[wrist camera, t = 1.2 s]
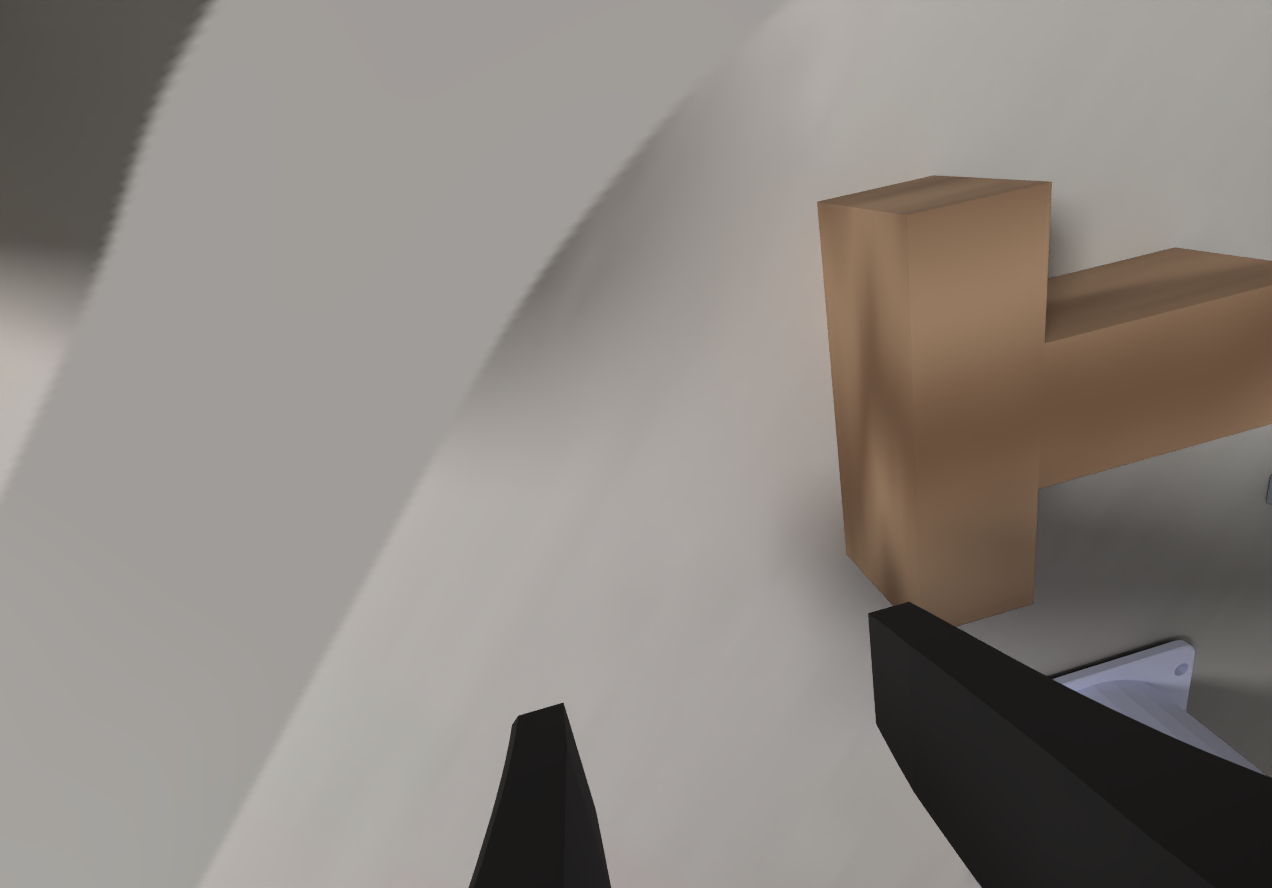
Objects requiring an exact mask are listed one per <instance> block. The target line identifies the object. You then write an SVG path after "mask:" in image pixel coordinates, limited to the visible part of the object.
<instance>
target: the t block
mask: <svg viewBox="0 0 1272 888" xmlns="http://www.w3.org/2000/svg"><path fill="white" fill-rule="evenodd" d="M1051 187H1052V182H1045V181H1026V180H1008V179H989V178H970V177H951V176H929V177H925V178H920V179H916V180H912V181H907V182H903V183H898V184H894V185H890V186H885V187H881V188H876V189H872V190H867V191H863V192H859V193H854V194H850V195H845V196H841V197H836V198H832V199H828V200H823V201H819V202H817V205H818V217H819V229H820V241H821V253H822V265H823V277H824V289H825V301H826V313H827V326H828V338H829V350H830V362H831V374H832V386H833V398H834V410H835V422H836V434H837V446H838V458H839V470H840V482H841V494H842V506H843V518H844V530H845V542H846V554H847V555H848V556H849V557H850V559H851V560H852V561H853V562H854V563H855V564H856V565H857V566H858V567H859V569H860V570H861V571H862V572H863V573H864V574H865V575H866V576H867V577H868V579H869V580H870V581H871V582H872V583H873V584H874V585H875V586H876V587H877V588H878V590H879V591H880V592H881V593H882V594H883V595H884V596H885V597H886V598H887V600H888V601H889V602H890V603H891V604H892V605H893V606H896V605H899V604H902V603H906V602H911V603H913V604H915V605H917V606H918V607H920V608H922V609H924V610H926V611H928V612H930V613H931V614H933V615H935V616H937V617H939V618H941V619H942V620H944V621H946V622H948V623H950V624H951V625H953V626H955V627H957V626H960V625H963V624H967V623H970V622H973V621H977V620H980V619H983V618H987V617H990V616H993V615H997V614H1000V613H1004V612H1007V611H1010V610H1014V609H1017V608H1020V607H1024V606H1027V605H1030V604H1033V598H1034V575H1035V553H1036V530H1037V507H1038V489H1040V488H1044V487H1047V486H1051V485H1055V484H1058V483H1062V482H1065V481H1069V480H1072V479H1076V478H1080V477H1083V476H1087V475H1090V474H1094V473H1097V472H1101V471H1105V470H1108V469H1112V468H1115V467H1119V466H1122V465H1126V464H1130V463H1133V462H1137V461H1140V460H1144V459H1147V458H1151V457H1155V456H1158V455H1162V454H1165V453H1169V452H1172V451H1176V450H1180V449H1183V448H1187V447H1190V446H1194V445H1197V444H1201V443H1205V442H1208V441H1212V440H1215V439H1219V438H1222V437H1226V436H1230V435H1233V434H1237V433H1240V432H1244V431H1247V430H1251V429H1255V428H1258V427H1262V426H1265V425H1269V424H1272V261H1268V260H1261V259H1254V258H1246V257H1239V256H1232V255H1225V254H1218V253H1210V252H1203V251H1196V250H1189V249H1182V248H1171V249H1167V250H1163V251H1159V252H1155V253H1151V254H1147V255H1143V256H1139V257H1135V258H1131V259H1126V260H1122V261H1118V262H1114V263H1110V264H1106V265H1102V266H1098V267H1094V268H1090V269H1086V270H1082V271H1078V272H1074V273H1070V274H1066V275H1062V276H1058V277H1054V278H1050V279H1047V278H1048V255H1049V233H1050V210H1051Z"/></svg>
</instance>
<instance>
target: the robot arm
mask: <svg viewBox="0 0 1272 888" xmlns="http://www.w3.org/2000/svg"><path fill="white" fill-rule="evenodd" d="M868 617H869V631H870V645H871V659H872V673H873V687H874V701H875V714H876V724H877V726H878V728H879V730H880V732H881V734H882V736H883V737H884V739H885V741H886V743H887V745H888V747H889V748H890V750H891V752H892V754H893V756H894V758H895V760H896V761H897V763H898V765H899V767H900V768H901V770H902V772H903V774H904V775H905V777H906V779H907V781H908V782H909V784H910V786H911V788H912V789H913V791H914V793H915V794H916V796H917V797H918V799H919V800H920V802H921V803H922V804H923V806H924V807H925V809H926V810H927V812H928V813H929V814H930V816H931V817H932V819H933V820H934V821H935V823H936V824H937V826H938V827H939V829H940V830H941V831H942V833H943V834H944V836H945V837H946V838H947V840H948V841H949V843H950V844H951V846H952V847H953V848H954V850H955V851H956V853H957V854H958V855H959V857H960V858H961V860H962V861H963V862H964V864H965V865H966V867H967V868H968V869H969V871H970V872H971V874H972V875H973V876H974V878H975V879H976V880H977V883H978V884H979V886H980V887H981V888H1272V778H1271V777H1268V776H1266V775H1265V774H1264V773H1263V772H1261V771H1260V770H1259V769H1258V768H1256V767H1255V766H1254V765H1253V764H1251V763H1250V762H1249V761H1248V760H1246V759H1245V758H1244V757H1243V756H1241V755H1240V754H1239V753H1237V752H1236V751H1235V750H1234V749H1232V748H1231V747H1230V746H1229V745H1227V744H1226V743H1225V742H1224V741H1222V740H1221V739H1220V738H1219V737H1217V736H1216V735H1215V734H1214V733H1212V732H1211V731H1210V730H1209V729H1207V728H1206V727H1205V726H1203V725H1202V724H1201V723H1200V722H1198V721H1197V720H1196V719H1195V718H1193V717H1192V716H1191V715H1190V714H1188V713H1187V712H1186V707H1187V701H1188V695H1189V688H1190V682H1191V676H1192V670H1193V663H1194V657H1195V649H1194V648H1193V647H1192V646H1191V645H1189V644H1188V643H1187V642H1185V641H1183V640H1177V641H1172V642H1169V643H1166V644H1163V645H1160V646H1156V647H1153V648H1150V649H1147V650H1144V651H1140V652H1137V653H1134V654H1131V655H1128V656H1124V657H1121V658H1118V659H1115V660H1112V661H1108V662H1105V663H1102V664H1099V665H1095V666H1092V667H1089V668H1086V669H1083V670H1079V671H1076V672H1073V673H1070V674H1067V675H1063V676H1060V677H1057V678H1054V679H1051V678H1049V677H1047V676H1045V675H1043V674H1041V673H1039V672H1038V671H1036V670H1034V669H1032V668H1030V667H1028V666H1026V665H1024V664H1022V663H1021V662H1019V661H1017V660H1015V659H1013V658H1011V657H1009V656H1008V655H1006V654H1004V653H1002V652H1000V651H998V650H997V649H995V648H993V647H991V646H989V645H987V644H986V643H984V642H982V641H980V640H978V639H977V638H975V637H973V636H971V635H969V634H968V633H966V632H964V631H962V630H960V629H959V628H957V627H955V626H953V625H951V624H950V623H948V622H946V621H944V620H942V619H941V618H939V617H937V616H935V615H933V614H931V613H930V612H928V611H926V610H924V609H922V608H920V607H918V606H917V605H915V604H913V603H911V602H906V603H902V604H899V605H896V606H892V607H889V608H885V609H882V610H879V611H875V612H872V613H868ZM469 888H611V885H610V880H609V875H608V869H607V864H606V859H605V854H604V849H603V844H602V839H601V834H600V829H599V824H598V819H597V814H596V809H595V806H594V803H593V799H592V796H591V793H590V789H589V786H588V783H587V779H586V776H585V773H584V769H583V766H582V763H581V759H580V756H579V753H578V749H577V746H576V743H575V739H574V736H573V733H572V730H571V726H570V723H569V720H568V716H567V713H566V710H565V706H564V703H560V704H557V705H554V706H550V707H547V708H543V709H540V710H537V711H533V712H530V713H526V714H523V715H519V716H518V717H517V719H516V720H515V721H514V723H513V724H512V729H511V735H510V741H509V746H508V751H507V756H506V760H505V765H504V769H503V773H502V777H501V781H500V785H499V789H498V793H497V796H496V800H495V804H494V808H493V811H492V815H491V818H490V821H489V825H488V828H487V831H486V834H485V838H484V841H483V844H482V847H481V851H480V854H479V857H478V861H477V864H476V867H475V870H474V873H473V876H472V879H471V882H470V885H469Z"/></svg>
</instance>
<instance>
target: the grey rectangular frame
mask: <svg viewBox="0 0 1272 888" xmlns="http://www.w3.org/2000/svg"><path fill="white" fill-rule="evenodd" d="M1266 502H1267V503H1269V504H1271V505H1272V475H1271V479H1270V484H1269V489H1268V495H1267V500H1266Z"/></svg>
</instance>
